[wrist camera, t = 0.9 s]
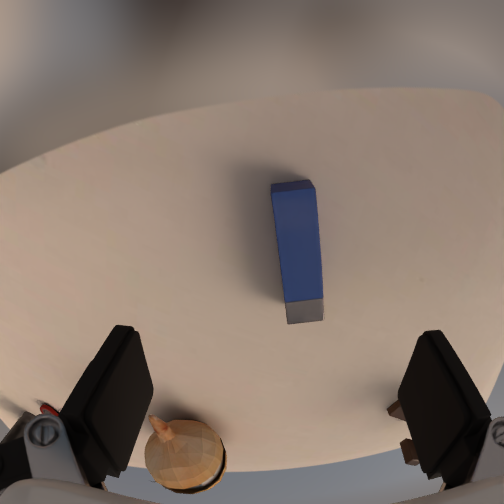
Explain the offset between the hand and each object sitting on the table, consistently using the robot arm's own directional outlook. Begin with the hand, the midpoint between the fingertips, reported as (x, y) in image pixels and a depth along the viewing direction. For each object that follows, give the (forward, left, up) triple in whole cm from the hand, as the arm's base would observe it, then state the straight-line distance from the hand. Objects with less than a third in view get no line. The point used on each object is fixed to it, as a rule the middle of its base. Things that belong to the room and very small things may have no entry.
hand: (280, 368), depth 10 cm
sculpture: (+26, +6, -15) cm, 30 cm away
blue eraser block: (+1, +3, -15) cm, 15 cm away
